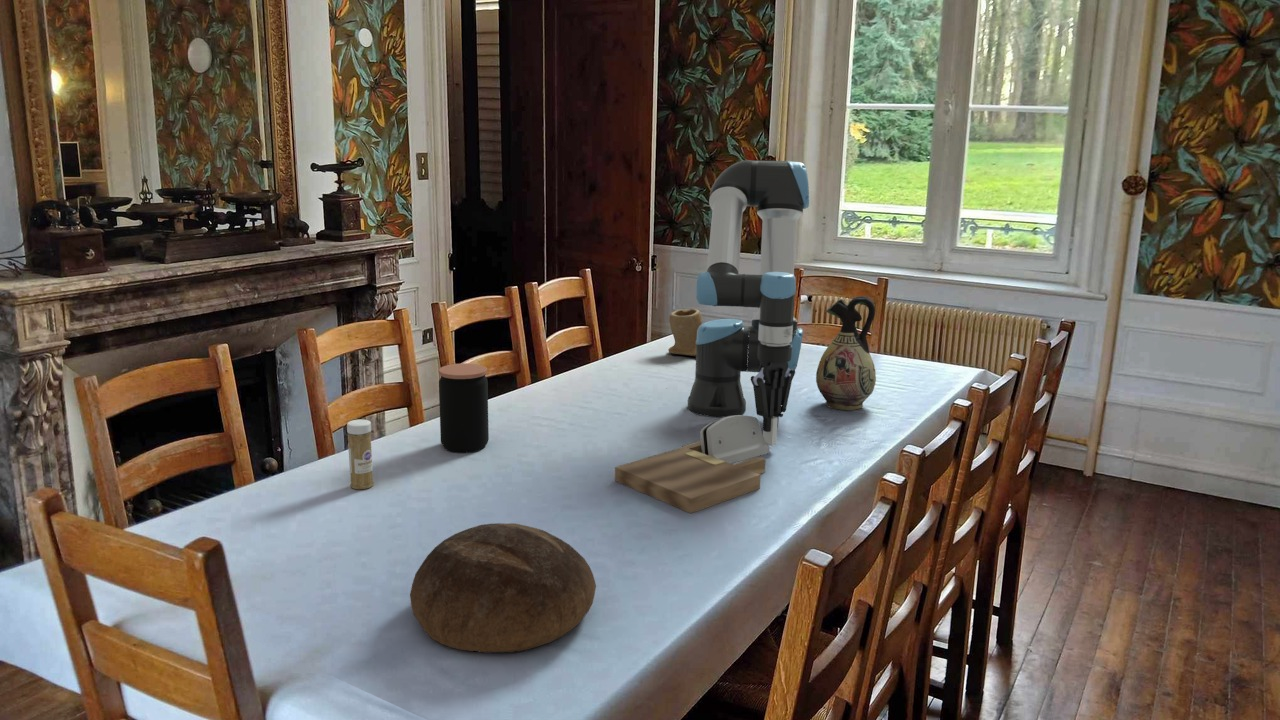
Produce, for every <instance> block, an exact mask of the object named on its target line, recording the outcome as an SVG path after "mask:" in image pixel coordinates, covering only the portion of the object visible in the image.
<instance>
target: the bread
mask: <svg viewBox="0 0 1280 720" xmlns="http://www.w3.org/2000/svg"><path fill="white" fill-rule="evenodd" d="M412 580H413V582H412V584H411V588H410V592H409V597H410V606H411V609H412V612H413V616H415V619H416V620H417V621H418V623H419V625H420V627H422V629H423V631H424V632H425V633H426V634H427V635H428V636H429V637H430V638H431V639H432V640H434V641H435V642H437V643H440V644H441V645H442V646H446V647H448V648H453V649H457V650H461V651H466V650H467V652H473V651H480V652H479V653H486V652H509V653H515V652H514V651H518V652H523V650H524V651H526V650H530V649H534V648H538V647H540V646H543V645H547V644H549V643H551V642H553V641H555V640H557V639H560V638H562V637H563V636H564V635H566V634H567V633H568V632H570V631H571V630H572V629H574V628H575V627H577V626H578V624H579V623H580V622H581V621H583V619H584V618H585V617H586V615H587V614H588V613H589V611H590V610H591V608H592V605H593V603H594V598H595V594H596V590H597V589H596V588H597V583H596V579H595V576H594V573H593V571H592V569H591V567H590V565H589V564H588V562H587V560H586V559H585V558H584V557H583V556H582V555H581V554H580V553H579V552H578V551H577V550H576V549H575V548H574V547H573V546H572V545H570V544H569V543H567V542H566V541H564V540H563V539H561V538H559V537H558V536H555V535H553V534H551V533H549V532H547V531H545V530H543V529H539V528H536V527H532V526H528V525H523V524H520V523H512V522H511V523H503V522H502V523H500V522H499V523H498V522H497V523H486V524H485V523H484V524H479V525H476V526H473V527H470V528H467V529H465V530H461V531H459V532H455V533H454V534H453V535H451V536H449V537H447V538H445V539H444V540H442V541H441V542H440V543H439V544H437V545H436V546H435V547H434V548H433V549H432V550H431V551H430V552H429V554H427V555H426V558H424V560H423V562H422V563H421V565H420V566H419V568H418V569H417V571H416V572H415V575H414V578H413V579H412Z"/></svg>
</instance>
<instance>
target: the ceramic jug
mask: <svg viewBox="0 0 1280 720" xmlns="http://www.w3.org/2000/svg"><path fill="white" fill-rule="evenodd" d="M857 305H861V306H865V307H867V309H868V314H867V318H866V320H865V323H864V325H863V327H862V329H861V331H860V333H859V331H858V329H857V326H856V322H861V321H862V320H863V317H862V315H861V314H860V312H859V311H858V310H857V309H856V307H855V306H857ZM825 312H826V313H828V314H830V315H832V316H834V317H837V318H839V320H840V321H841V323H842V325H841V328H840V330H839V331H838V333H837V334H836V336H834V338H833V339H832V341H831V342H830V343H829V345H828V346H827V347H826V349H825V350H824V352H823V353H822V355H821V357H820V360H819V363H818V365H817V369H816V373H815V377H816V378H815V383H816V385H817V389H818V391H819V393H820V394H821V396H822V397H823V399H824V400H825V404H826V406H827V407H828V408H830V409H833V408H834V410H840V411H854V410H858V409H862V408H863V407H864V405H863V404H864V402H865V401H866V400H868V398H869V397H870V396H871V395H872V394H873V392H874V389H875V386H876V382H877V376H876V375H877V373H876V367H875V364H874V360H873V358H872V356H871V353H870V350H869V349H870V348H869V344H868V338H867V335H868V333H869V331H870V328H871V326H872V323H873V322H874V318H875V317H876V315H875V314H876V305H875V303H874V301H873V300H872V299H871V298H870V297H867V296H856V297H853V298H852V299H851V300H850V301H849V303H848V304H846V302H845V301H844V299H842V298H840V299H839V300H838V301H836V302H835V303H834V304H833V305H831V306H829V308H828V309H827V310H826V311H825Z"/></svg>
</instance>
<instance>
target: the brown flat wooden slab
mask: <svg viewBox="0 0 1280 720" xmlns="http://www.w3.org/2000/svg"><path fill="white" fill-rule="evenodd" d="M765 471H766V458H765V457H762V456H757V457H753V458H750V459H746V460H742V461H739V462H736V463H732V464H730V463H727V462H725V461H722V460H720V459H717V458H714V457H711V456H708V455H706V454H703V453H702V450H701V440H699V441H696V442H693V443H689V444H686V445H682V447H679V448H676V449H672V450H669V451H666V452H662V453H658V454H654V455H652V456H649V457H645V458H642V459H637V460H635V461H631V462H627V463H625V464H621V465H618V466H615V467H614V481H615V482H617V483H619V484H622V485H623V486H626V487H628V488H630V489H632V490H635V491H638V492H640V493H643V494H645V495H647V496H650V497H651V498H654V499H657V500H659V501H662V502H663V503H666V504H668V505H670V506H673V507H675V508H677V509H680V510H682V511H684V512H685V513H686V512H687V513H688V514H693V513H695V512H698V511H701V510H704V509H707V508H709V507H712V506H715V505H718V504H720V503H723V502H726V501H729V500H732V499H735V498H738V497H740V496H743V495H746V494H749V493H752V492H754V491H757V490H759V489H760V488H761V476H762V475H761V474H764V473H765Z"/></svg>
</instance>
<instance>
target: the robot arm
mask: <svg viewBox="0 0 1280 720" xmlns="http://www.w3.org/2000/svg"><path fill="white" fill-rule="evenodd" d="M809 188H810V187H809V176H808V170H807V168H806V165H805V164H804V163H802V162H801V161H791V160H752V159H750V160H749V159H746V160H740V161H737V162H735V163H733V164H731V165H730V166H729V167H727V168H725V170H724V169H723V171H722V172H721V173H720V174H719V175H718V177H717V178H716V179H715V180H714V183H713V184H712V186H711V188H710V192H709V201H708V202H709V203H708V205H709V208H710V209H711V210H712V212H711V213H712V214H711V221H710V222H711V224H710V235H709V243H708V256H707V265H706V271H705V272H699V273H698V274H697V278H696V286H695V288H696V289H695V290H696V291H695V292H696V293H695V296H696V302H697V303H698V304H699V305H701V306H712V307H741V308H756V309H757V308H758V311H757V314H756V315H755V316H754V317H752V318H751V326H746V325H745V324H744V322H743V320H742V319H738V318H721V319H713V320H710V321H709V320H708V321H705V322H702V324H701V325H700V326H699V328H698V330H697V340H696V344H697V348H696V356H695V372H694V376H695V377H694V380H693V385H692V387H691V390H690V393H689V396H688V398H687V410H688V411H689V412H690V413H693V414H697V415H700V416H704V417H713V418H723V417H727V416H734V415H742V414H744V413H745V412H746V410H747V409H746V408H747V402H746V398H745V397H744V392H743V387H742V384H741V372H746V373H757V374H756V375H752V376H751V377H750V381H751V384H752V386H753V393H754V394H753V395H754V402H755V411H756V412H755V413H756V415H757V416H761V417H762V434H763V438H764V441H765V442H766V443H767V444H768V445H769V447H770V446H771V447H773V446H774V447H775V446H777V437H778V436H777V435H778V429H779V422H780V421H779V420H780V418H782V417H783V416H784V413H785V412H786V410H787V405H788V403H789V395H790V392H791V387H792V383H793V382H792V381H793V379H794V376H795V374H796V370H797V366H798V362H799V358H800V353H801V348H802V343H803V342H802V341H803V335H804V329H803V328H801V327H798V323H799V321H798V320H797V318H796V317H795V302H796V292H797V288H796V287H797V285H796V283H797V282H796V280H797V278H796V276H795V261H796V260H795V259H796V238H797V237H796V236H797V221H799V219H800V218H801V217H802V216H803V215H804V210H805V209H808V208H809V207H810V206H809V205H810V191H809ZM747 207H755V208H757V209H756V214H757V216H759V218H760V219H761V220H762V226H761V227H762V228H761V243H760V244H761V246H760V247H761V249H760V266H759V267H760V269H759V274H746V273H740V258H741V246H742V245H741V242H742V241H741V240H742V228H743V227H742V226H743V213H744V211H745V210H746V209H747Z"/></svg>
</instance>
